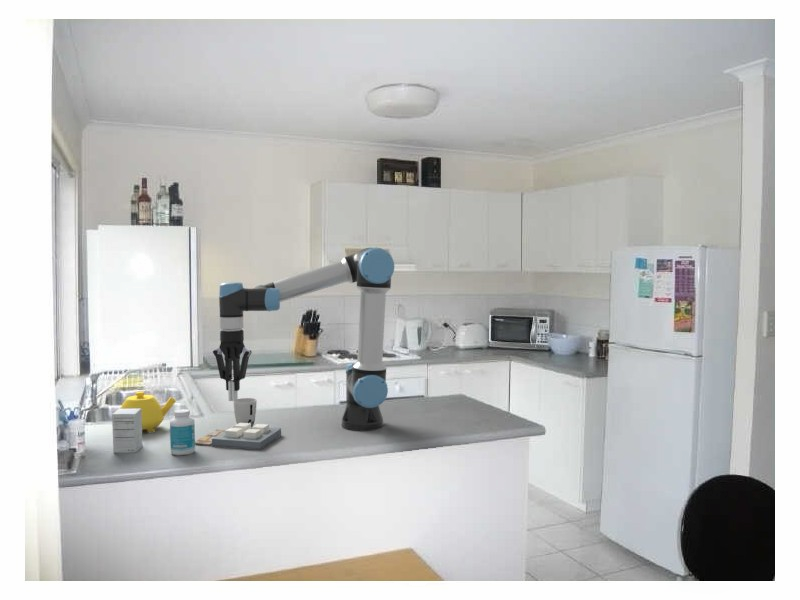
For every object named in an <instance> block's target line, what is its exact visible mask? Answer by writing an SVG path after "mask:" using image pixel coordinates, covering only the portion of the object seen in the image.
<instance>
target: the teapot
mask: <svg viewBox="0 0 800 600" xmlns="http://www.w3.org/2000/svg"><path fill="white" fill-rule="evenodd" d="M134 393H135V394H134V395H129V396H127V397H126V398H125V400H124V401H123V403H122V404H121V406H120V407H119V409H134V408H139V409H141V415H142V431H143V430H146V432H147V433H149V432H151V433H155V432H156V429H155V428H156V427H158V426H160V425H161V423H163V420H165V419H164V418H165V416H166V415H167V414H168V412H169V410H171V408H172V407H173V406H174V404H176V402H177V400H176V399H175V398H173V396H170V397H169V398H168V400H167V401H166V402H165V403H164V405H163V406H161V404H160V402H159V401H158V399H157V398H156V397H155V396H154V395H151V394H145V393H146V391H143V390H142V391H135V392H134Z"/></svg>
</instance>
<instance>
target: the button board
mask: <svg viewBox="0 0 800 600" xmlns="http://www.w3.org/2000/svg"><path fill="white" fill-rule="evenodd" d="M231 428H234V426H233V427H231ZM251 429H252V427H251ZM279 436H280V437H281V436H282V428H280V427H279V428H278V427H269V432H267V433H265V434H261V437H259V438H258V439H243V433H242V436H240V437H238V438H229V437H225V432H223V433H221V434H219V435H218V436H216V437H214V438H212V445H211V446H212V447H215V448H216V447H218V448H232V449H243V450H260V451H261V450H262V449H264V448H265V447H266V445H267V446H268V445H269V444H271V443H273V442H274V441H275V440H277V439H278V438H280V437H279ZM276 438H277V439H276ZM263 447H264V448H263Z"/></svg>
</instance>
